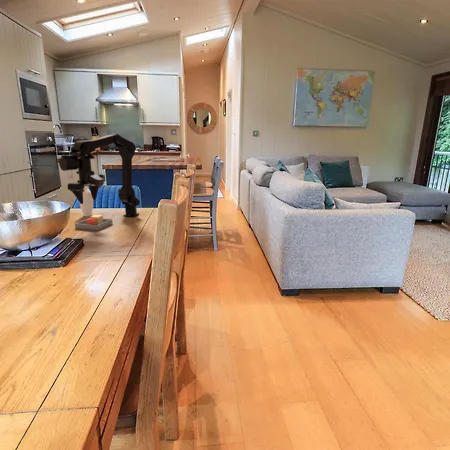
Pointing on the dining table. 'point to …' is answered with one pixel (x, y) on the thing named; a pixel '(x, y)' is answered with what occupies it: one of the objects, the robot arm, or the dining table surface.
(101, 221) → the block
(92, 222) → the tomato
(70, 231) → the dining table surface
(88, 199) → the soft serve ice cream cone
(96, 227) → the dish
